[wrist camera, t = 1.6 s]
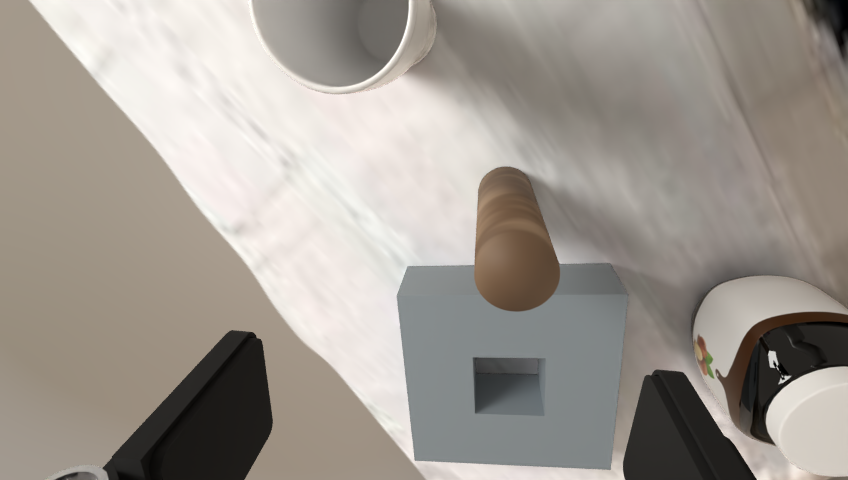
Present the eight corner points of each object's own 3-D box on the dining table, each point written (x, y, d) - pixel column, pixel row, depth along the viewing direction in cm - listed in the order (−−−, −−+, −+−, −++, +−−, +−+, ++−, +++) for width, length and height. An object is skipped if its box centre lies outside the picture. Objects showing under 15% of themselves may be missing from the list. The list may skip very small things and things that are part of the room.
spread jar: (693, 264, 35) (785, 357, 24) (861, 256, 33) (1043, 353, 22) (679, 391, 39) (752, 518, 28) (828, 390, 37) (966, 525, 26)
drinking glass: (370, 92, 33) (287, 118, 19) (335, -9, 31) (213, -61, 17) (460, 60, 31) (441, 65, 18) (430, -48, 29) (381, -140, 15)
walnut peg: (532, 165, 33) (561, 234, 20) (531, 217, 35) (558, 311, 22) (477, 168, 34) (472, 236, 21) (478, 218, 35) (475, 311, 23)
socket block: (609, 263, 35) (628, 294, 31) (596, 423, 41) (610, 469, 37) (407, 266, 38) (396, 295, 33) (422, 417, 44) (414, 460, 39)
